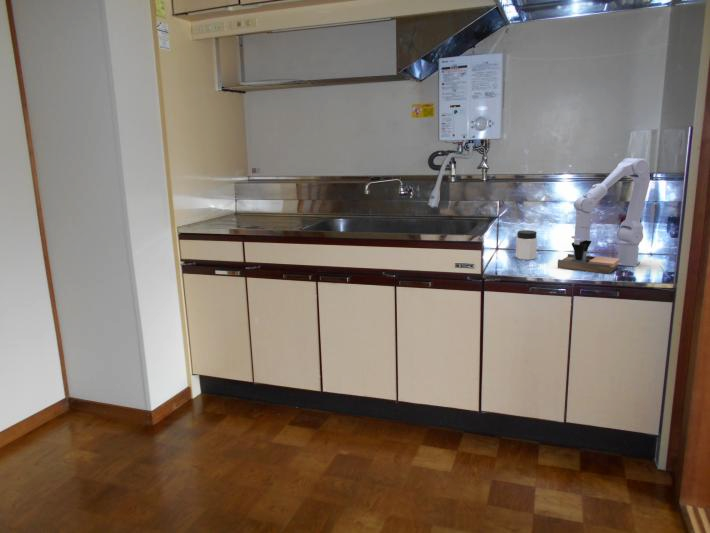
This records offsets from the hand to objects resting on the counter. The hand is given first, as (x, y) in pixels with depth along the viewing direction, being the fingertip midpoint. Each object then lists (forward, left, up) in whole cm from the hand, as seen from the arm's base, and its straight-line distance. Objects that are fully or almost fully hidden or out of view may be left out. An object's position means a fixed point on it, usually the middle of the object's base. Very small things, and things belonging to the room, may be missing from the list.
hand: (580, 258), depth 229 cm
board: (0, +3, -3) cm, 5 cm away
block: (0, 0, -3) cm, 3 cm away
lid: (0, +10, -1) cm, 10 cm away
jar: (-5, -25, -4) cm, 26 cm away
